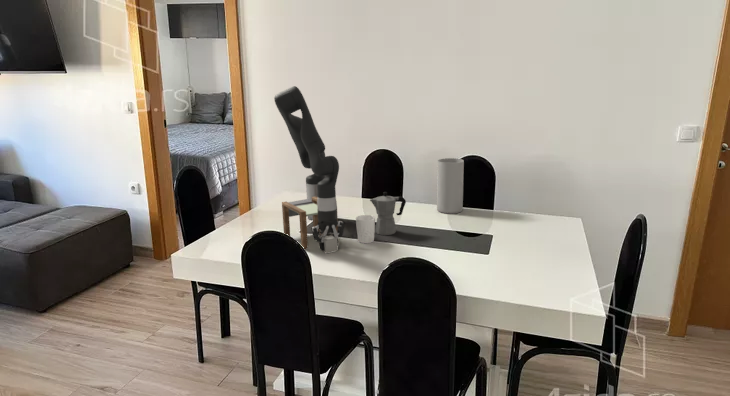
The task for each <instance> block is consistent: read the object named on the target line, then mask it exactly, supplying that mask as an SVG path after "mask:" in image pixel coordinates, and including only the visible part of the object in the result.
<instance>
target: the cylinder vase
mask: <svg viewBox="0 0 730 396" xmlns="http://www.w3.org/2000/svg"><path fill="white" fill-rule="evenodd" d="M464 167H465V162H464V159H461V158H454V157H449V158H439V159H437V167H436V168H437V169H436V170H437V172H436V173H437V175H436V176H437V179H436V181H437V182H436V184H437V185H436V210H437V211H438V212H440V213H441V214H450V215H451V214H452V215H453V214H458V213H461V212H462V211H463V208H464V207H463V205H464V202H463V201H464V174H465V173H464V170H465V169H464Z"/></svg>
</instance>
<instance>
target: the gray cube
mask: <svg viewBox="0 0 730 396" xmlns="http://www.w3.org/2000/svg"><path fill="white" fill-rule="evenodd" d="M324 246H325V251H323V253H325V254H329V253H332V252H337V251H338V250H339V249H338V246H339V245H338V246H337V238H335V237H333V236H332V234H331V235H326V237H325V239H324Z"/></svg>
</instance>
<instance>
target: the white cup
mask: <svg viewBox="0 0 730 396" xmlns="http://www.w3.org/2000/svg"><path fill="white" fill-rule="evenodd" d="M355 224H356V227H355V228H356V233H357V241H358V243H360V244H361V243H362V244H370V243H372V242H374V241H375V234H376V232H375V229H376V216H374V215H371V214H362V215H361V214H360V215H358V216H356V217H355Z"/></svg>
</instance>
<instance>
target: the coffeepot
mask: <svg viewBox="0 0 730 396" xmlns="http://www.w3.org/2000/svg"><path fill="white" fill-rule="evenodd" d="M382 193H383V195H380V196H377V197H374V198H371V199H369V201H370V202H371V204H372V205H373V206H374V208H375V213H376V214H377V218H376V221H375V234H377V235H378V236H379V235H380V236H390V235H394V234H396V233H397V227H396V221H395V218H394V214H395V210H396V209H395V208H396V203H397V202H401V203H400V208H399V212H397V213H396V216H401V215H403V211H404V209H405V206H406V202H407V201H406V199H405V198H404V197H403V196H391V195H388V192H387V191H384V192H382Z"/></svg>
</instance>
